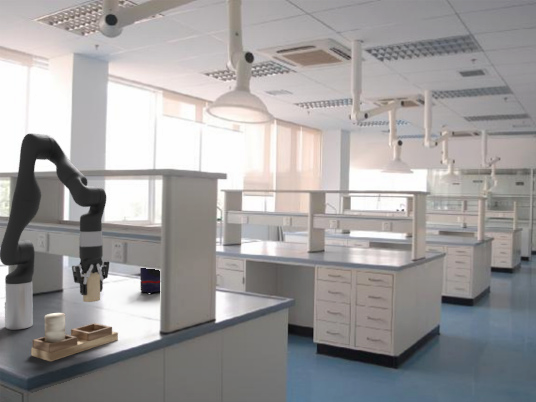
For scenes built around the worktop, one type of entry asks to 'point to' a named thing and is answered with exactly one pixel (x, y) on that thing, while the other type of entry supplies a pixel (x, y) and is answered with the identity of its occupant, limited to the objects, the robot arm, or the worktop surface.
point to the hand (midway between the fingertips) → (91, 293)
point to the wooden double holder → (69, 338)
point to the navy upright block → (150, 280)
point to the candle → (92, 288)
